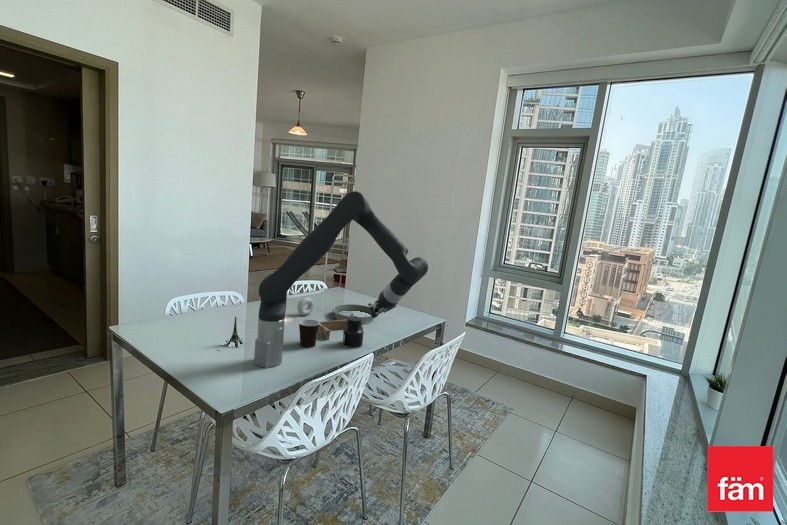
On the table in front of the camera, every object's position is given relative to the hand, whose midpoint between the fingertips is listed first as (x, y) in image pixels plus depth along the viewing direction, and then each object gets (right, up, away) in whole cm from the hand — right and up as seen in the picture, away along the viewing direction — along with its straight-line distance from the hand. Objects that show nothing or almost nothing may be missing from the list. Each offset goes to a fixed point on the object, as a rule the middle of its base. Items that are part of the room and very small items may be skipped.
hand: (373, 315), depth 153 cm
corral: (-18, -12, +25) cm, 33 cm away
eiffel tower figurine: (-57, -12, 0) cm, 58 cm away
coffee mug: (-28, -13, +9) cm, 32 cm away
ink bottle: (-10, -15, +14) cm, 22 cm away
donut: (-39, -7, +47) cm, 61 cm away
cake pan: (-13, -9, +53) cm, 55 cm away
